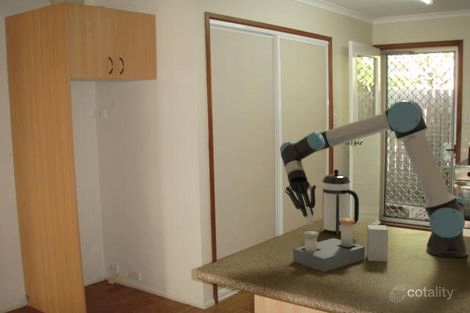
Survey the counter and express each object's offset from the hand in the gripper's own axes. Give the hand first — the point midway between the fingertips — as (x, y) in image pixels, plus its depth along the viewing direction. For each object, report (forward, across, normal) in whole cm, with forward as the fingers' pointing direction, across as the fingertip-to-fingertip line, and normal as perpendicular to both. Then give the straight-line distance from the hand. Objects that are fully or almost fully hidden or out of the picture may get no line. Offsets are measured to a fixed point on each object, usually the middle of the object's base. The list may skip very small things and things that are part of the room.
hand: (310, 222), depth 183 cm
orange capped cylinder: (+7, -15, -7) cm, 18 cm away
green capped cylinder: (+10, 0, -10) cm, 14 cm away
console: (+11, -7, -11) cm, 17 cm away
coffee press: (-16, -28, -38) cm, 50 cm away
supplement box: (+13, -26, -9) cm, 31 cm away
